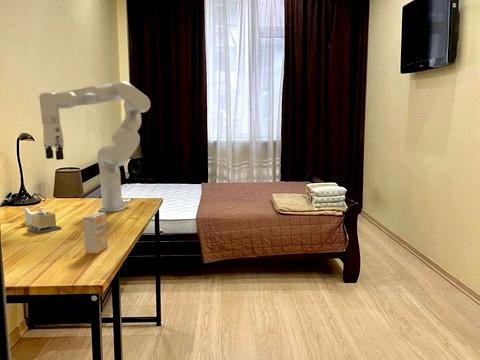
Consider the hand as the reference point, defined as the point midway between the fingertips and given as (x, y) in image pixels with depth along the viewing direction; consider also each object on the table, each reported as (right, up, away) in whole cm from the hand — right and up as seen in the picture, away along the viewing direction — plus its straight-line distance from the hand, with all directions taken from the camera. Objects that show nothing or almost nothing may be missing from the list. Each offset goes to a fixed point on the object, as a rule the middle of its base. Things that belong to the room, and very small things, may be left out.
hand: (54, 159), depth 218 cm
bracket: (-8, -29, 0) cm, 30 cm away
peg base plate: (+2, -30, -16) cm, 34 cm away
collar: (+2, -29, -16) cm, 33 cm away
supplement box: (+33, -35, -49) cm, 68 cm away
